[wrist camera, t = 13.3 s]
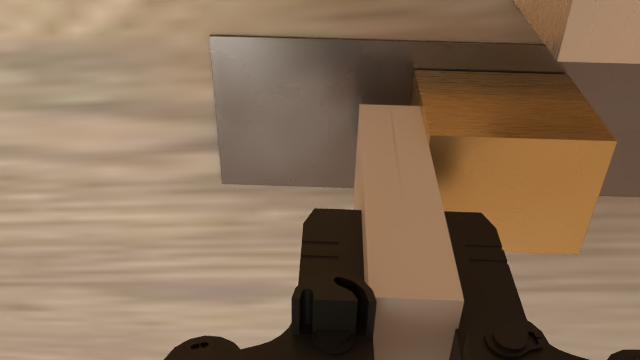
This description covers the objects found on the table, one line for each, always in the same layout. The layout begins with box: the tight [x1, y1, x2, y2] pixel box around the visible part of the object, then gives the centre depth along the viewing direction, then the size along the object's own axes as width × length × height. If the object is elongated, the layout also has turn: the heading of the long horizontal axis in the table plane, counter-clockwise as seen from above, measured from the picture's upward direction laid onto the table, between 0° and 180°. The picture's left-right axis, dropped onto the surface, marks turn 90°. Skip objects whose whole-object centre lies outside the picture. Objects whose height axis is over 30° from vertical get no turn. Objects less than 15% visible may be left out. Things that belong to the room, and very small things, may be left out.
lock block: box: [410, 70, 617, 254], centre depth 15 cm, size 4×3×3 cm
